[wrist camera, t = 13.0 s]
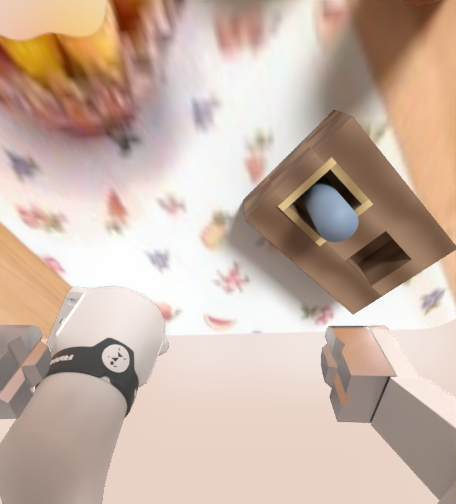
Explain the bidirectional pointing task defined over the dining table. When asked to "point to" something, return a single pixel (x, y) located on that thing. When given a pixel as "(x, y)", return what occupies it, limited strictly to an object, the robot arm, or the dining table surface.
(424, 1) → the soda can
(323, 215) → the peg
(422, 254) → the socket block
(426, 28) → the dining table surface
